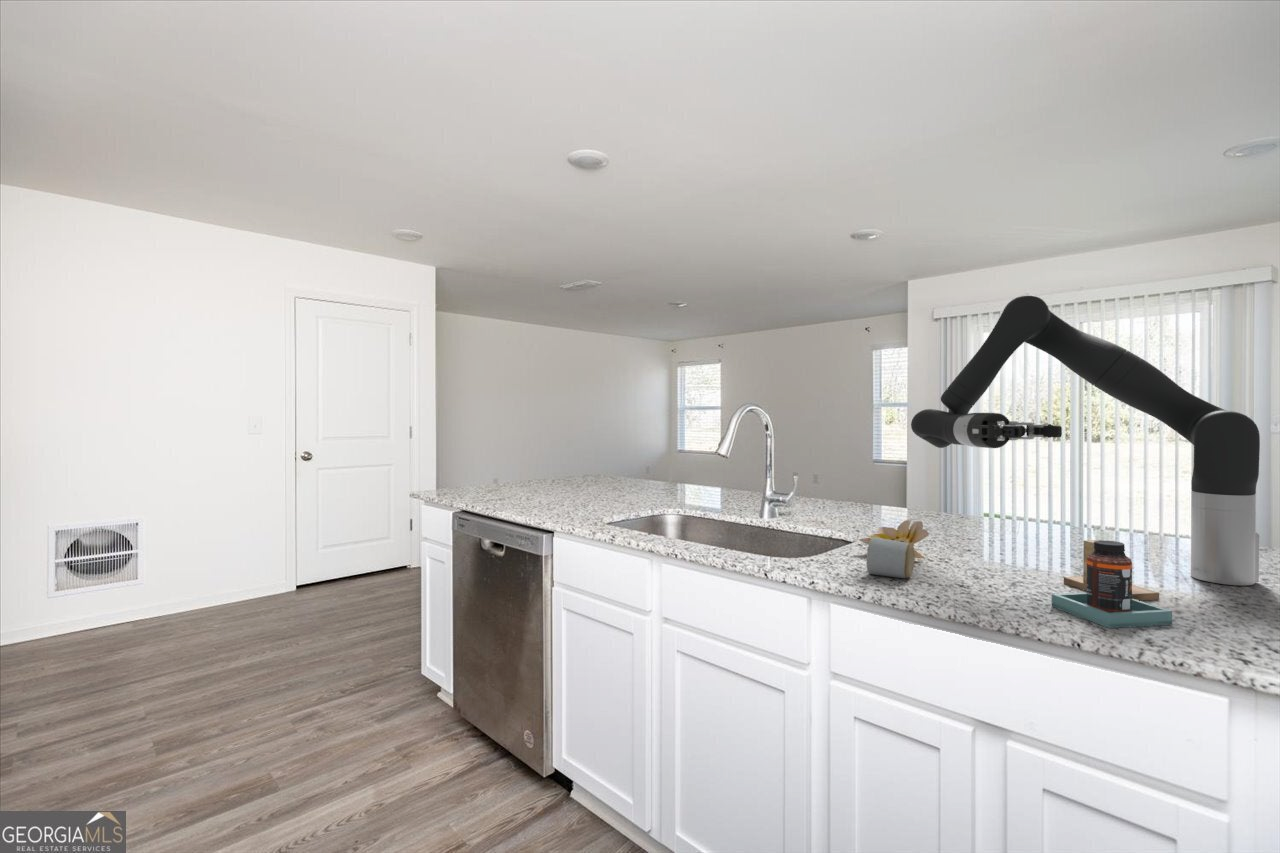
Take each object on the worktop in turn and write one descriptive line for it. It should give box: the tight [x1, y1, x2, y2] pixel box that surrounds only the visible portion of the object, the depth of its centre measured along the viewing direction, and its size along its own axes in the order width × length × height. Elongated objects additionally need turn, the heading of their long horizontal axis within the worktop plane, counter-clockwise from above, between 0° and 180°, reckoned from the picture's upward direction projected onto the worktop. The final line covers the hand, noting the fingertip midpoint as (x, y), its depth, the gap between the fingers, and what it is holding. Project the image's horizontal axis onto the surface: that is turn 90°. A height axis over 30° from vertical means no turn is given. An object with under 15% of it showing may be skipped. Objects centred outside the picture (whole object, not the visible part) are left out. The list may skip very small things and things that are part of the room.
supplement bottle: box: [1086, 539, 1133, 613], centre depth 102 cm, size 6×6×11 cm
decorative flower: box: [857, 519, 930, 559], centre depth 144 cm, size 15×11×10 cm
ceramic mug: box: [866, 537, 916, 579], centre depth 128 cm, size 11×8×8 cm
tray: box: [1051, 591, 1173, 629], centre depth 102 cm, size 11×11×2 cm
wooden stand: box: [1063, 539, 1160, 601], centre depth 115 cm, size 8×12×9 cm, turn 8°
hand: (1040, 431), depth 119 cm, fingers open, 8 cm apart
